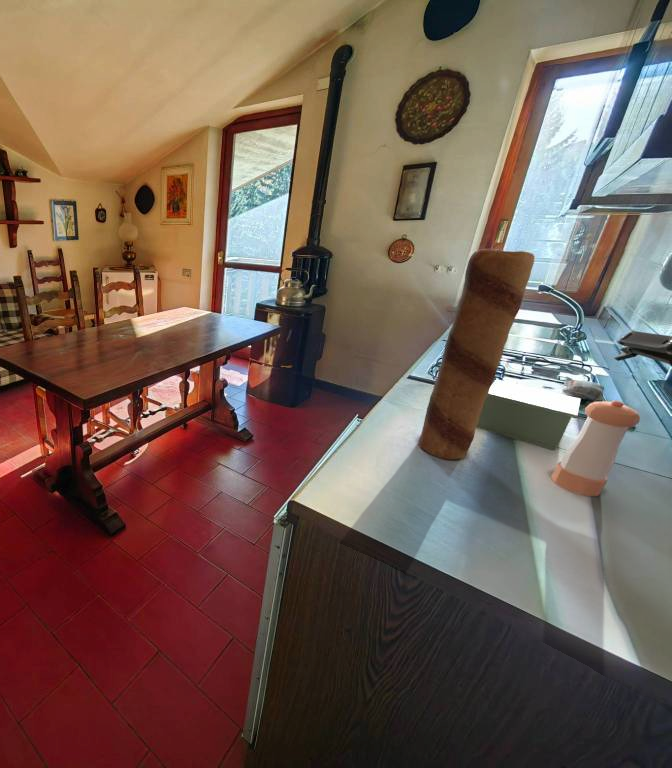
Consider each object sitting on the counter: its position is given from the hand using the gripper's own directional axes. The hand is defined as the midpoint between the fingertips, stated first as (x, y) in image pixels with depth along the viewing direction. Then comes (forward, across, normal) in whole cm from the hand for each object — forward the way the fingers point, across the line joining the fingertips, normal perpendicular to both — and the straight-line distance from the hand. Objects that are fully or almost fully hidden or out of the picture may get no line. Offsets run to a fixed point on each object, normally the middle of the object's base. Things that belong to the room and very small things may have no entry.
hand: (662, 379), depth 71 cm
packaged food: (+66, +6, +4) cm, 66 cm away
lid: (+25, -7, -11) cm, 28 cm away
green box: (+29, -3, -18) cm, 34 cm away
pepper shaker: (+7, +8, -22) cm, 25 cm away
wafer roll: (+7, -12, -35) cm, 37 cm away
